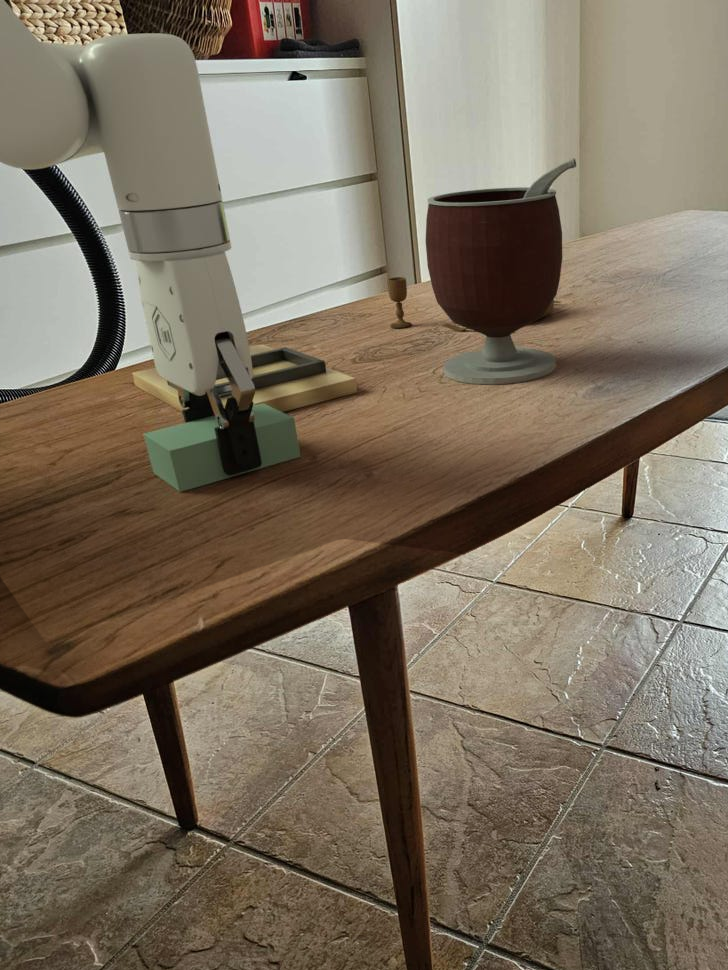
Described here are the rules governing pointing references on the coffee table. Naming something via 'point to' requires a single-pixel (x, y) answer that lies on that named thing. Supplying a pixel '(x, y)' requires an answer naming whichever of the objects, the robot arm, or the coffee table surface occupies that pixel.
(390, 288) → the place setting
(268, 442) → the green rectangular block
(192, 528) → the coffee table surface
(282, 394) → the wooden block holder
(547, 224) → the mate gourd
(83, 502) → the coffee table surface
